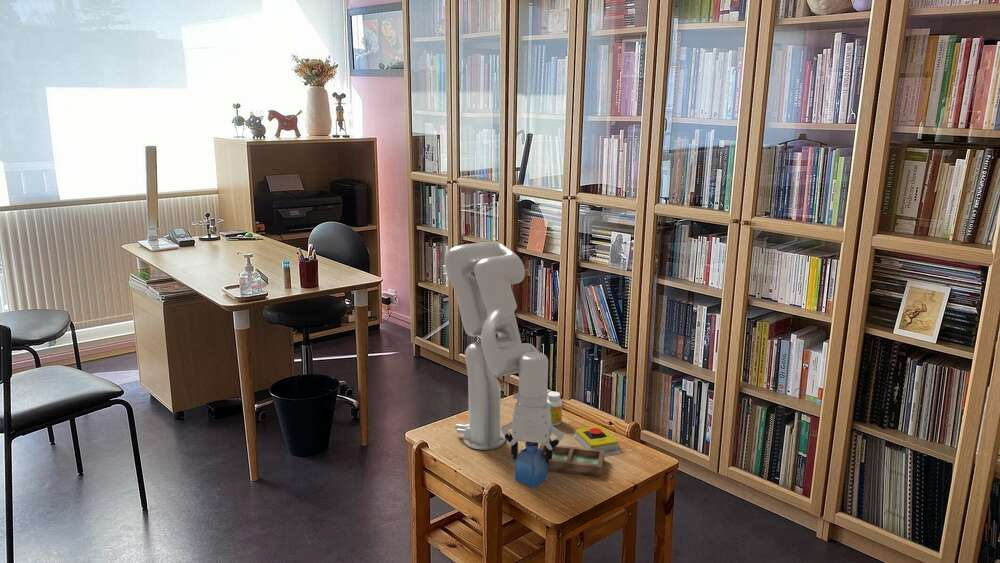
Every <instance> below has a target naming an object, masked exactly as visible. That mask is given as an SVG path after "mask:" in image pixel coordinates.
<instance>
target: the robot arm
mask: <svg viewBox="0 0 1000 563" xmlns="http://www.w3.org/2000/svg"><path fill="white" fill-rule="evenodd" d="M444 260H445V272H446V275H447V277H448V280H449V282H450V284H451V286H452V288H453V290H454V293H455V296H456V299H457V301H456V302H457V305H458V309H459V315H460V318H461V322H462V326H463V327H462V328H463V329H464V332H465V333H466V335H468V336H469V337H480V340H476V341H474V342H472V343H470V344H469V345H468V346H467V347H466V349H465V351H464V360H465V365H466V371H467V379H468V380H467V381H468V382H467V384H468V389H467V390H468V423H466V424H462V423H455V427H454V429H455V430H456V433H457V434H463V438H462V439H463V444H465V446H467V447H469V448H471V449H474V450H480V451H486V450H488V451H490V450H494V449H497V448H500V447H501V446H503V445H504V444H505V442H506V441H507V442H508V444H509V445H510V454H511V455H512V460H513V461H514V460H515V459H516V458H517V456H518V455H519V442H525V443H526V442H533V443H538V444H541V443H545V445H546V446H547V449H546V463H547V464H548V463H549V460H550V459H551V460H552V449H553V448H554V447H555V446H556V445H559V443H560V442H561V441H562V440H563V438H564V437H565V436H564V432H562V431H560V430H559V429H558V428H557V427H555V425H552V422H551V411H550V405H549V403H548V402H547V399H548V385H549V384H548V380H549V376H548V375H549V359H548V357H547V355H546V354H544V353H542V352H540V351H539V350H538V349H537V348H536V347H535V346H534V344H531V343H529V342H525V343H524V342H523V343H522V338H521V334H520V331H519V327H518V323H517V322H518V321H517V318H516V315H515V311H516V310H517V307H518V304H517V302H516V299H515V295H514V292H513V290H512V286H511V285H516V284H520V283H521V282H523V280H524V279H525V276H526V270H525V265H524V263H523V261H522V259H521V258H520V257H519V256H518V255H517V254H516V252H514V251H513V250H512V249H510V248H509V247H507V246H506V245H504V244H502V243H501V242H498V241H487V242H486V241H485V242H475V243H465V244H460V245H456V246H453V247H451V248H450V249H449V250H447V253H446V255H445V259H444ZM472 273H474V275H473V274H472ZM496 334H497V335H498V337H496ZM515 374H518V392H513V396H512V398H513V399H516V400H517V401H516V402H515V404H514V409H513V414H512V421H511V422H509V423H506V424H504V425H503V426H501V400H502V399H501V397H502V396H501V393H502V392H501V389H502V388H501V384H500V382H499V380H498V378H497V377H503V376H509V375H515ZM495 376H497V377H495ZM509 430H511V432H509ZM552 435H554V436H556V438H554V439H552V438H551V436H552Z"/></svg>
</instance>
